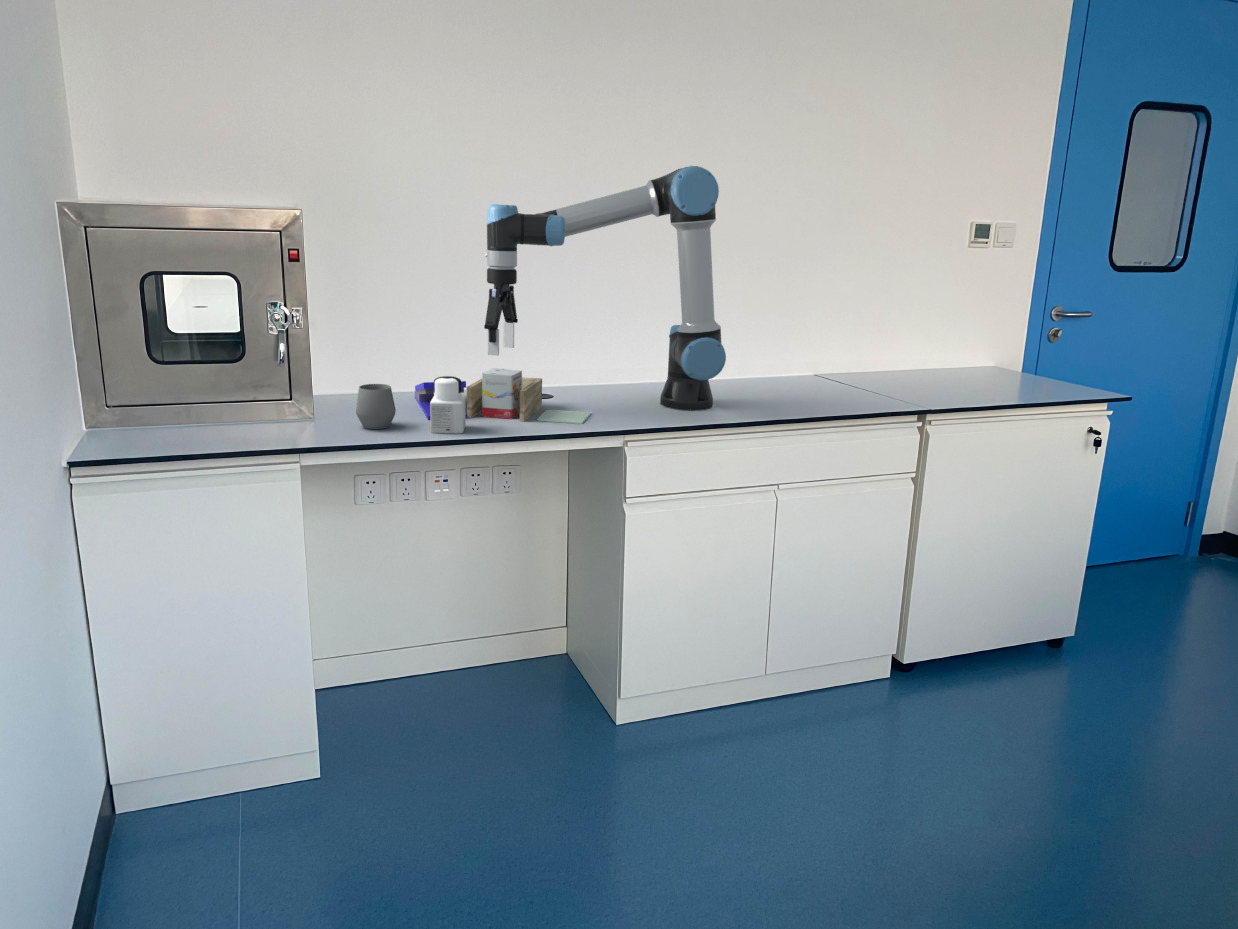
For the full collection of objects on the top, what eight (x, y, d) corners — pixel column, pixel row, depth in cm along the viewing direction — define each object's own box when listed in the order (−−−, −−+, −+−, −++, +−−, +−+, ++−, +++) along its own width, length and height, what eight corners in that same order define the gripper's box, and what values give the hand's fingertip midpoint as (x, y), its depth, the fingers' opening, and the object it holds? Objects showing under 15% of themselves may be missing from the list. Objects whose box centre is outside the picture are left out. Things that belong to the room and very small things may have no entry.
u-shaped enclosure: (541, 406, 243) (542, 378, 241) (524, 421, 226) (524, 391, 224) (488, 403, 246) (488, 374, 243) (466, 417, 228) (466, 387, 226)
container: (434, 425, 219) (433, 374, 215) (465, 426, 219) (464, 374, 216) (430, 433, 211) (429, 380, 208) (462, 433, 212) (462, 380, 208)
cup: (359, 432, 210) (357, 391, 207) (354, 423, 218) (352, 383, 215) (399, 430, 213) (398, 389, 211) (392, 421, 222) (391, 382, 219)
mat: (591, 414, 237) (591, 412, 237) (581, 424, 226) (582, 422, 226) (547, 410, 239) (547, 409, 239) (536, 420, 228) (536, 419, 228)
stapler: (425, 421, 224) (424, 383, 221) (412, 398, 249) (411, 364, 246) (470, 419, 228) (470, 382, 225) (453, 397, 253) (452, 363, 250)
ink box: (512, 419, 228) (512, 374, 225) (481, 416, 230) (480, 372, 226) (522, 412, 236) (522, 369, 233) (492, 410, 238) (492, 366, 235)
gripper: (502, 264, 235) (501, 343, 241) (471, 269, 211) (471, 357, 217) (529, 265, 234) (527, 345, 240) (501, 271, 210) (501, 359, 216)
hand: (501, 351), depth 228 cm, fingers open, 13 cm apart
